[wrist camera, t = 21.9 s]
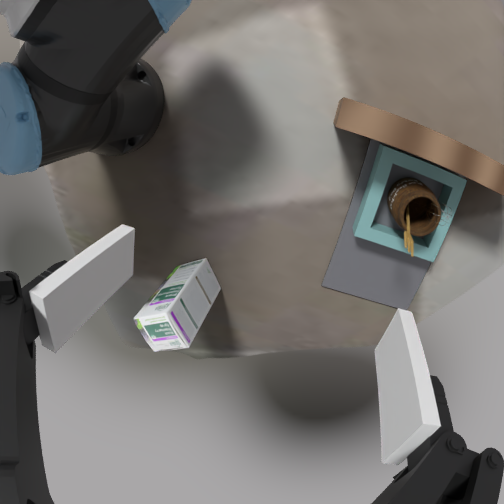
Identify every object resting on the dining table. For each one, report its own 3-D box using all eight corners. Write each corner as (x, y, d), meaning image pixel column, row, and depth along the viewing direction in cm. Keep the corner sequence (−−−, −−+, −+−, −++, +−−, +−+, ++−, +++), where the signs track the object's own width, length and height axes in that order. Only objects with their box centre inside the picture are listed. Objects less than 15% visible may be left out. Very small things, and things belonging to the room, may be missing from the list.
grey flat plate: (321, 284, 46) (321, 285, 46) (371, 135, 36) (372, 135, 36) (405, 309, 45) (406, 310, 45) (465, 173, 35) (466, 174, 34)
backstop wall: (333, 123, 37) (335, 126, 28) (339, 100, 35) (343, 97, 27) (492, 187, 34) (528, 209, 25) (499, 167, 33) (537, 185, 24)
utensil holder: (436, 201, 37) (470, 235, 26) (401, 230, 40) (423, 272, 29) (411, 166, 36) (441, 189, 26) (375, 196, 39) (391, 230, 28)
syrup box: (206, 256, 49) (165, 311, 36) (222, 289, 50) (188, 350, 38) (176, 265, 51) (130, 318, 38) (192, 296, 52) (153, 354, 40)
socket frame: (352, 227, 41) (354, 235, 39) (379, 143, 36) (384, 146, 33) (427, 252, 40) (433, 262, 37) (458, 175, 35) (467, 180, 32)
